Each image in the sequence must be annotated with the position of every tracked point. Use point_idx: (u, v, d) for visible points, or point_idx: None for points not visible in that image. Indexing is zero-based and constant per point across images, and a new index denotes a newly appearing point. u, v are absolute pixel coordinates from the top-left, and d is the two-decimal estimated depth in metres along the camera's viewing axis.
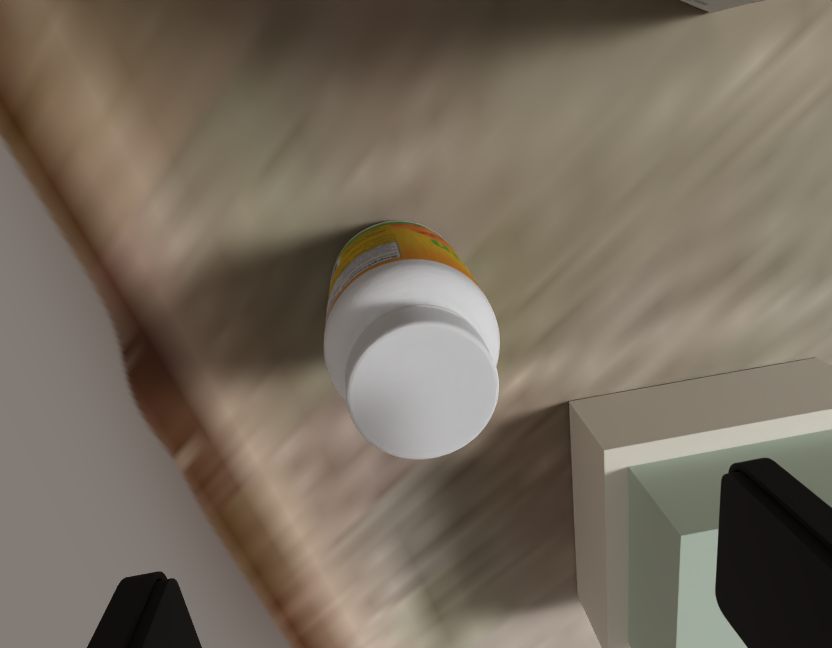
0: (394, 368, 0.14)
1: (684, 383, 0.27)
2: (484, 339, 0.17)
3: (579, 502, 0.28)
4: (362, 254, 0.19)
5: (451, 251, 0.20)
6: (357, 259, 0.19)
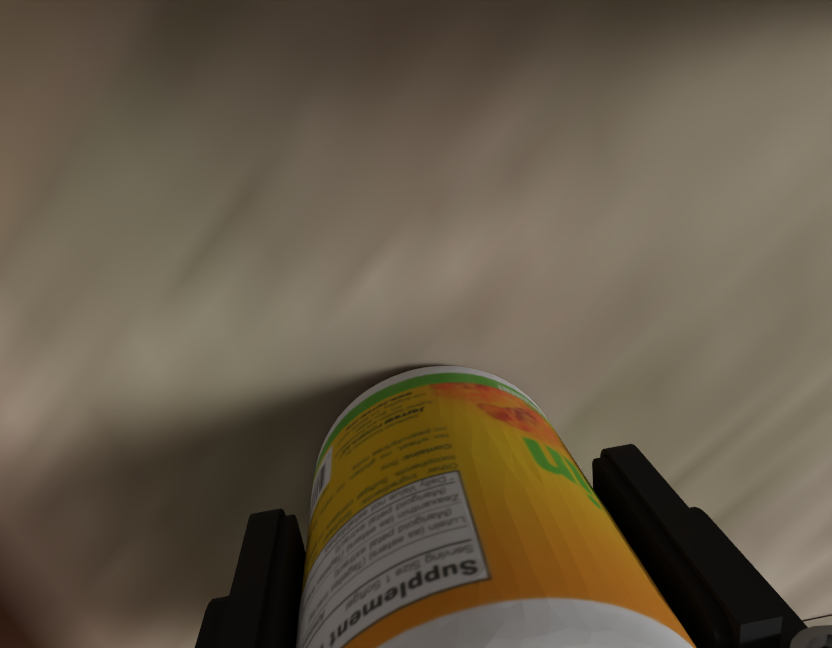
0: None
1: None
2: None
3: None
4: (380, 502, 0.08)
5: (569, 465, 0.09)
6: (368, 518, 0.08)
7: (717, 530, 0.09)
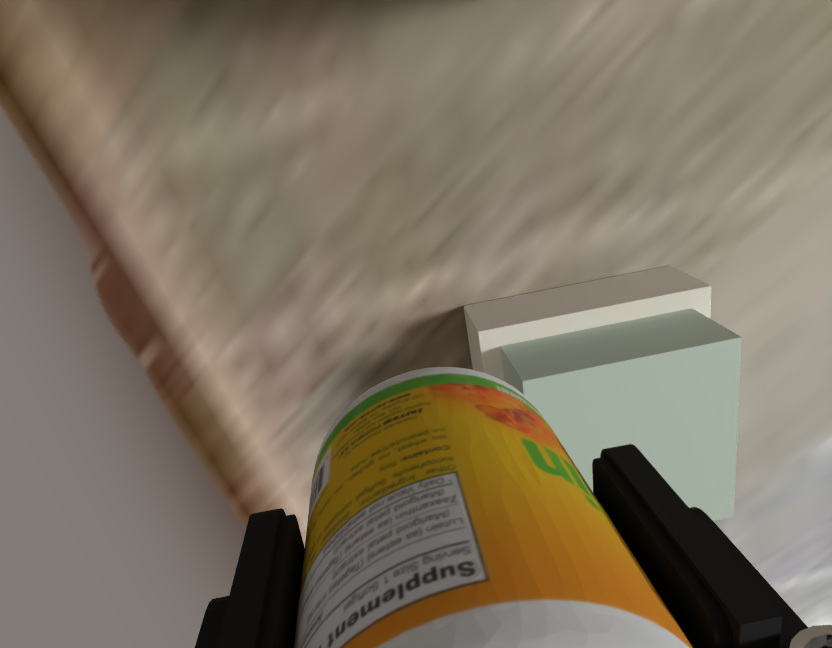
0: None
1: (559, 288, 0.32)
2: None
3: None
4: (378, 503, 0.08)
5: (567, 467, 0.09)
6: (366, 520, 0.08)
7: (717, 530, 0.09)
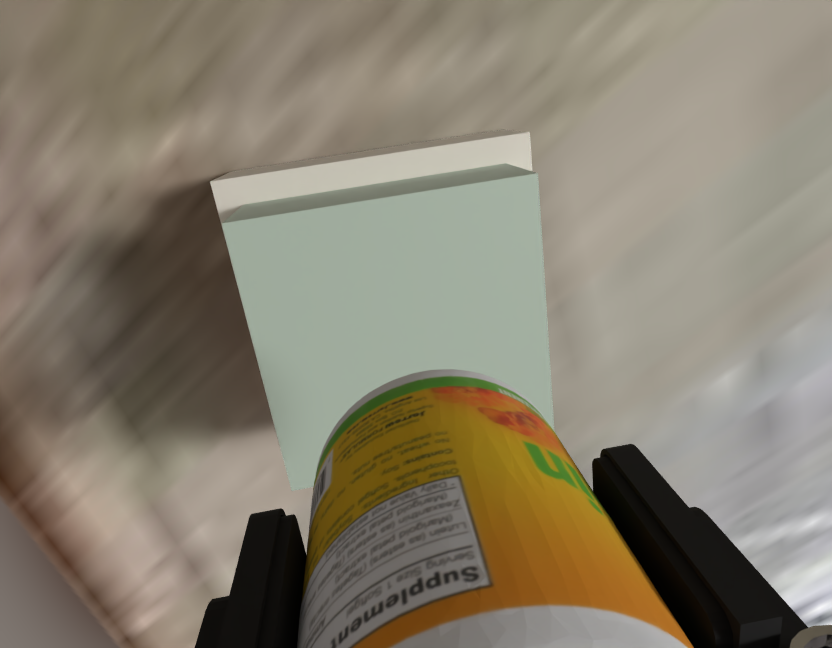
0: None
1: (356, 152, 0.25)
2: None
3: None
4: (380, 507, 0.08)
5: (570, 470, 0.09)
6: (369, 524, 0.08)
7: (717, 530, 0.09)
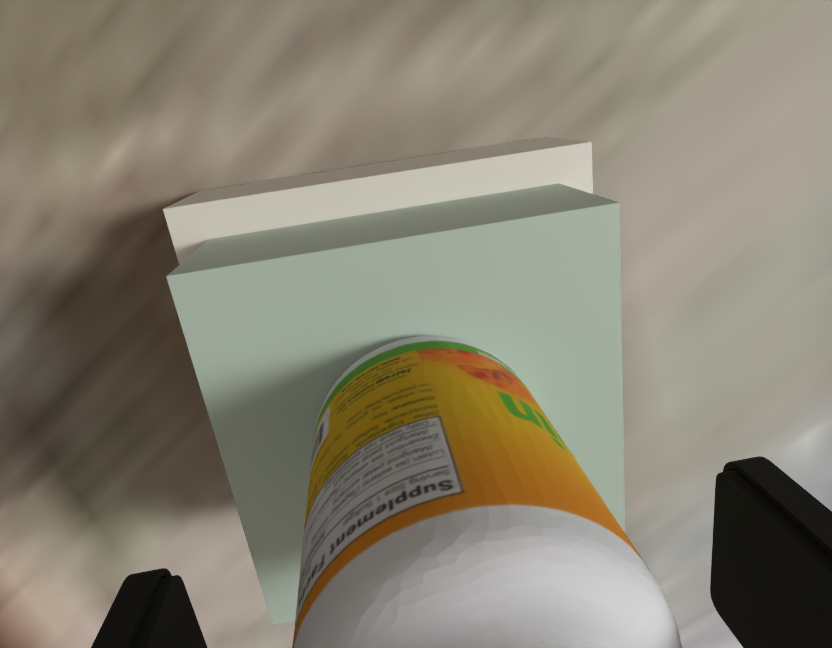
0: None
1: (359, 166, 0.19)
2: None
3: None
4: (371, 443, 0.09)
5: (538, 416, 0.11)
6: (362, 457, 0.09)
7: None
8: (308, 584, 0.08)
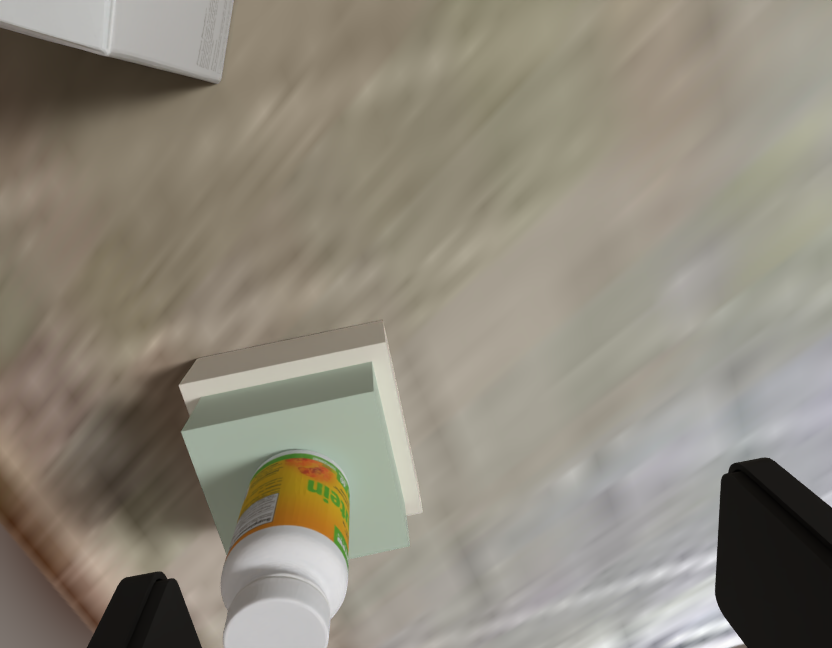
0: (252, 627, 0.22)
1: (281, 341, 0.36)
2: (330, 581, 0.24)
3: None
4: (254, 503, 0.26)
5: (324, 488, 0.27)
6: (250, 509, 0.26)
7: None
8: (228, 552, 0.25)
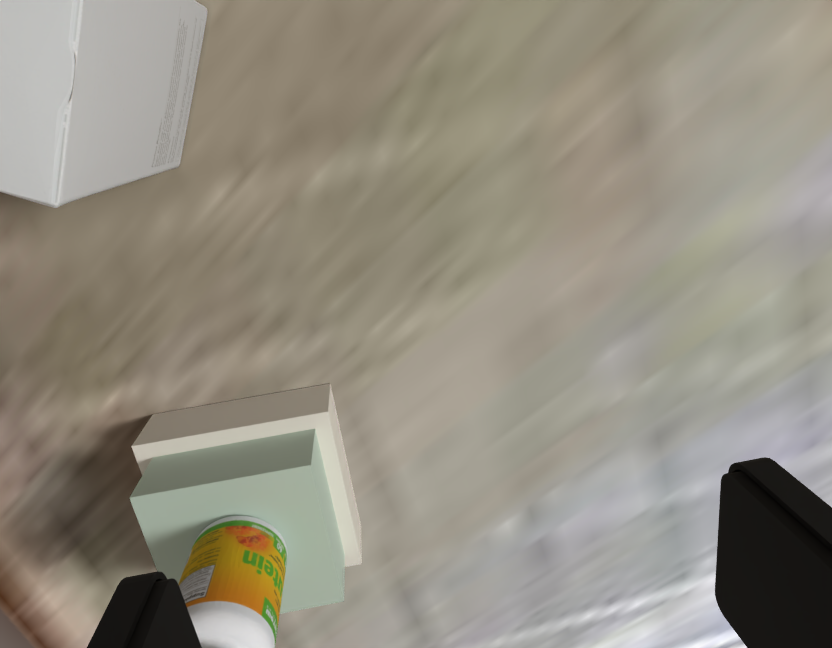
0: None
1: (233, 401, 0.39)
2: None
3: None
4: (192, 574, 0.29)
5: (259, 559, 0.30)
6: (188, 579, 0.28)
7: None
8: None
